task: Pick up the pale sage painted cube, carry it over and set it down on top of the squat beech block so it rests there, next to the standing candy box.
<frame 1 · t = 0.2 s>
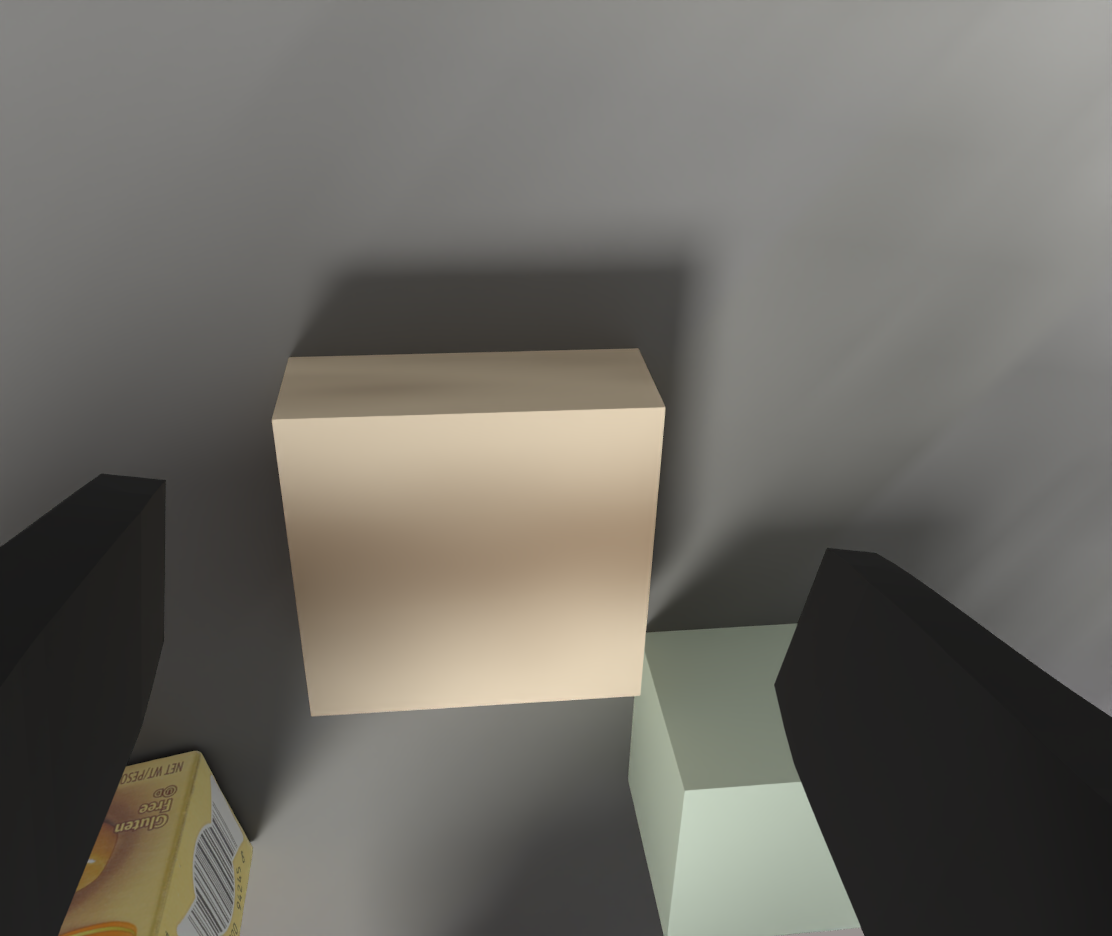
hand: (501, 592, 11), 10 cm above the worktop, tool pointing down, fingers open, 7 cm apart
sage cube: (728, 700, 26), on the worktop
beech block: (469, 492, 22), on the worktop
candy box: (67, 829, 26), on the worktop
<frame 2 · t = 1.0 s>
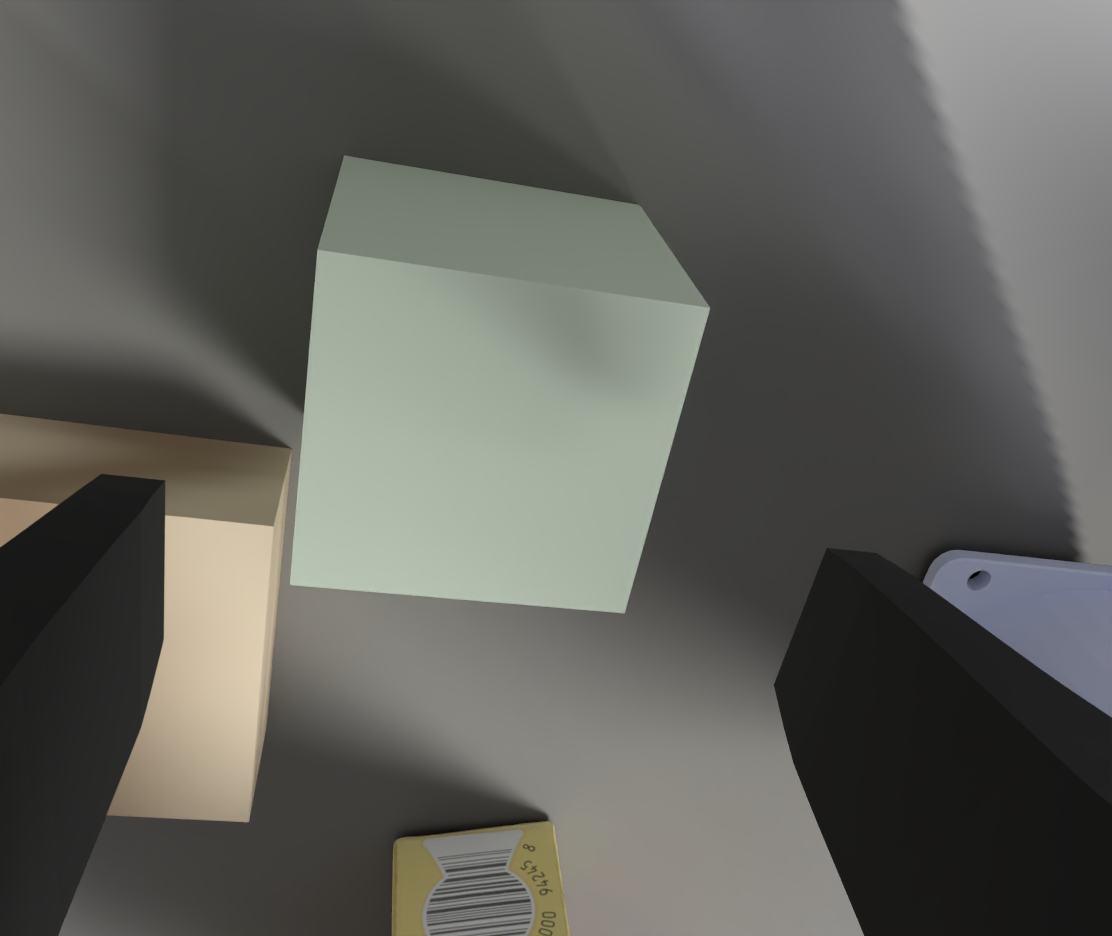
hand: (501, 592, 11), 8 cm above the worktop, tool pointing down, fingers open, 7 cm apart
sage cube: (473, 318, 18), on the worktop
beech block: (100, 571, 20), on the worktop
candy box: (487, 929, 27), on the worktop
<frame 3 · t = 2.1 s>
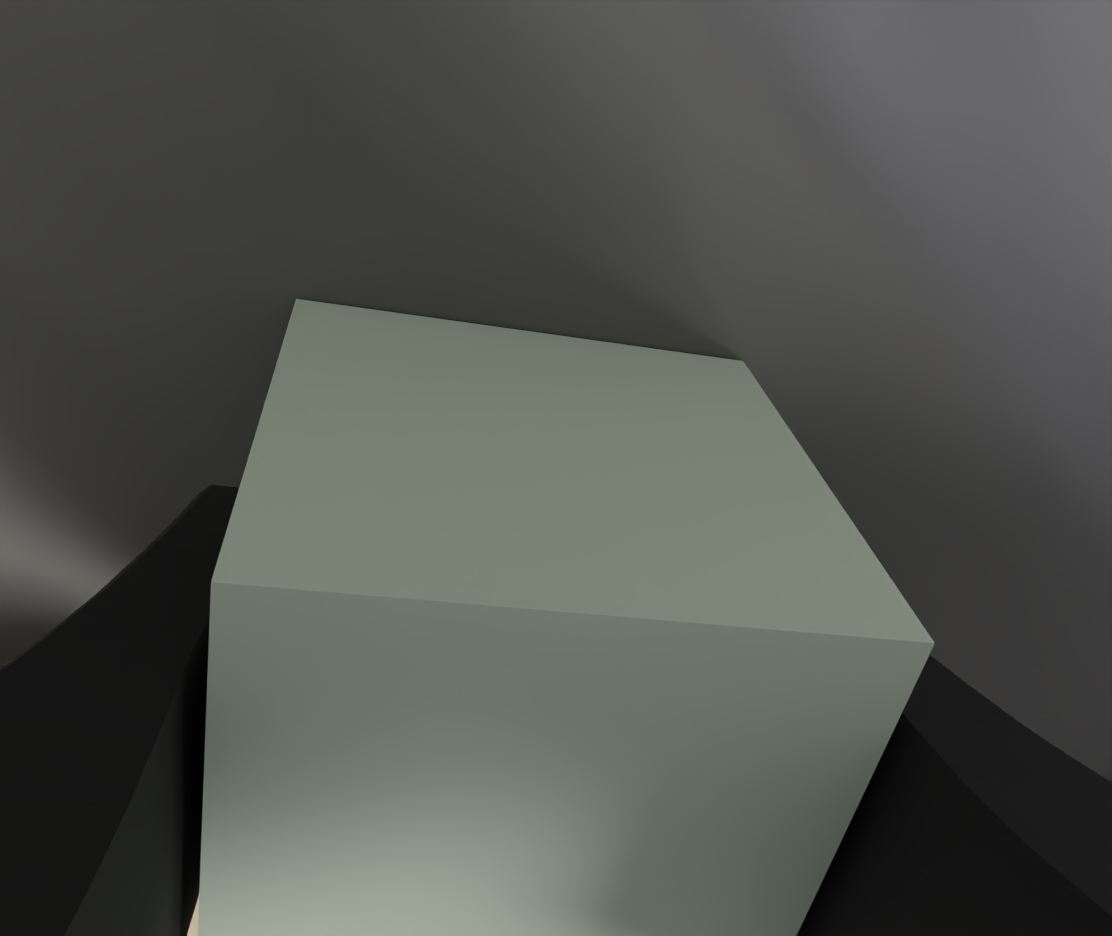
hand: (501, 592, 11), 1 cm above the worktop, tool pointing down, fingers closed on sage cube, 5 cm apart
sage cube: (492, 521, 12), on the worktop, touching gripper
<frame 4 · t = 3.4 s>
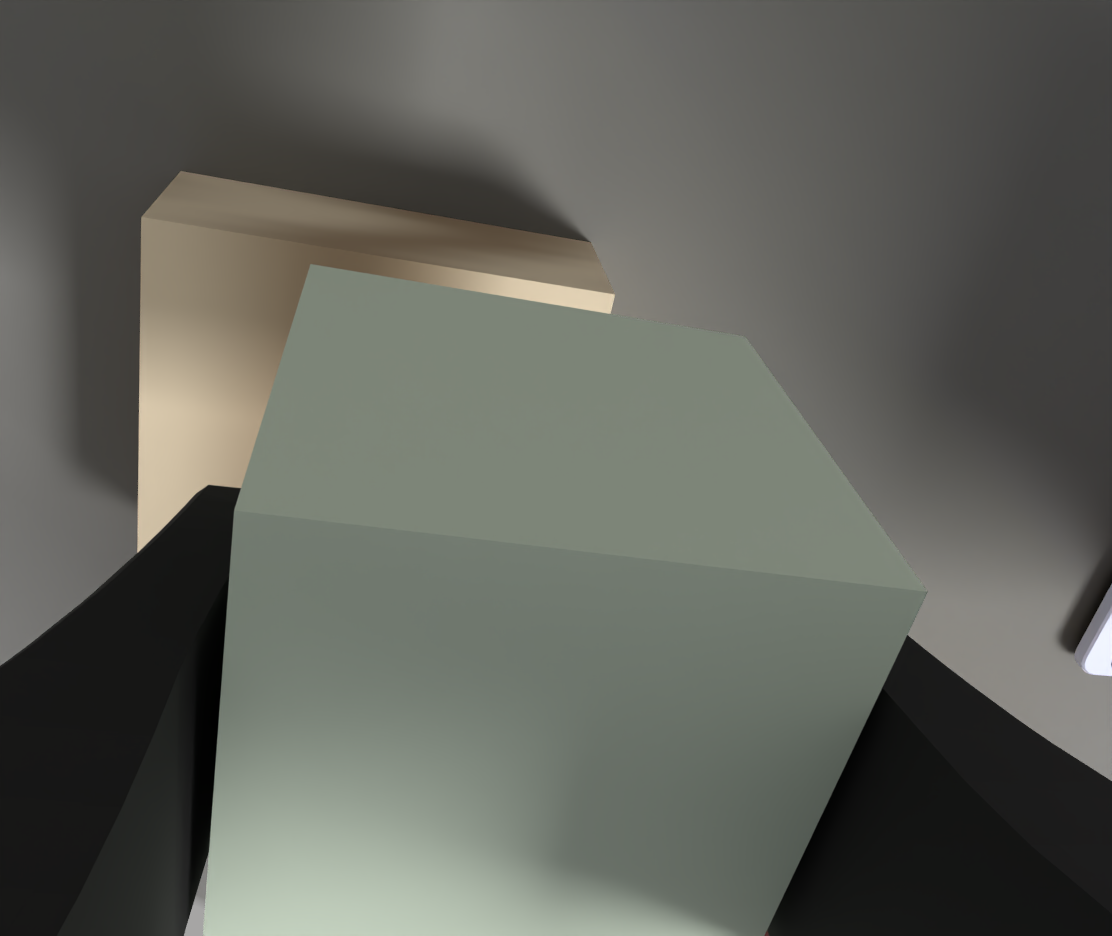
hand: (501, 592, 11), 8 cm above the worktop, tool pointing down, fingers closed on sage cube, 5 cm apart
sage cube: (496, 490, 13), point 7 cm above the worktop, touching gripper
beech block: (370, 383, 19), on the worktop
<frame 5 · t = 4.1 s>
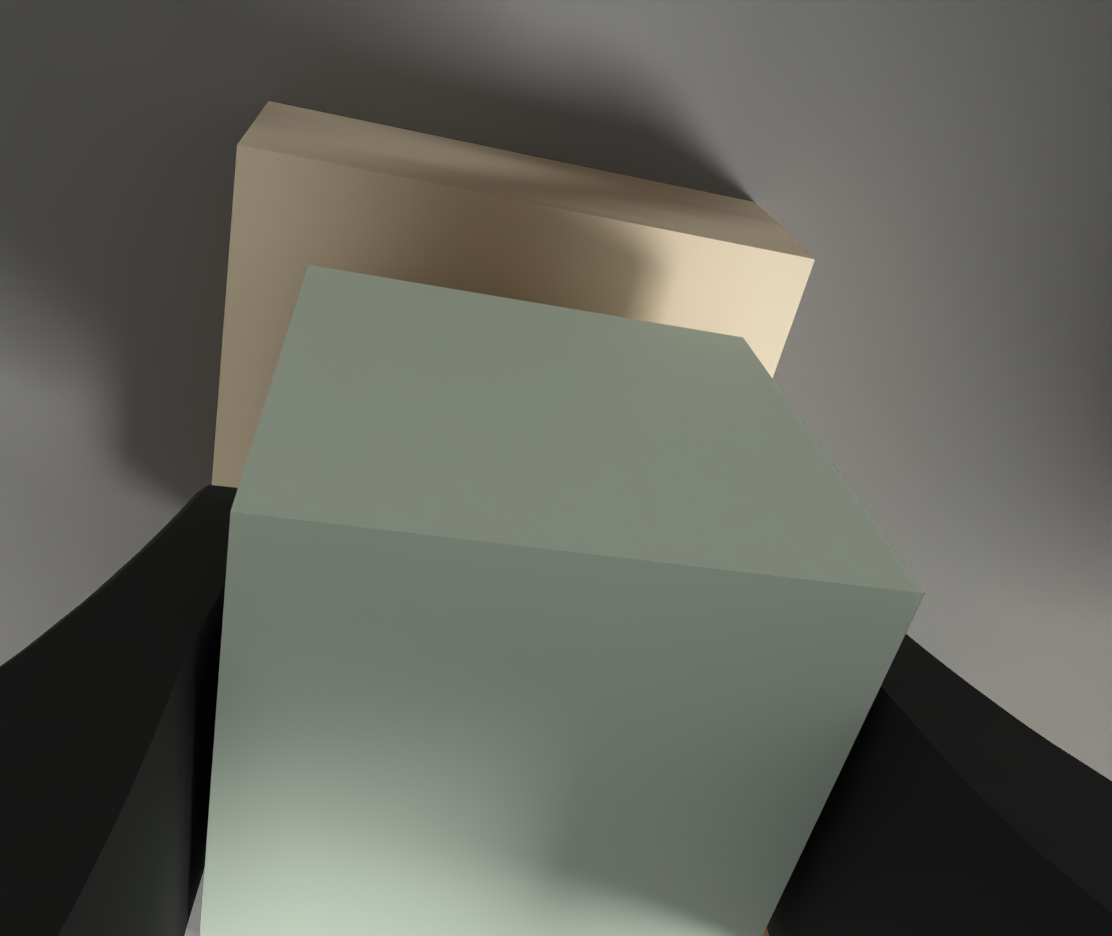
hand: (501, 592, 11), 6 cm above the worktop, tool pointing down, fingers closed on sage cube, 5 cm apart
sage cube: (494, 491, 13), point 4 cm above the worktop, touching gripper
beech block: (476, 368, 16), on the worktop
when the fingers open (5 cm above the worktop, at t = 4.6 s): sage cube stays where it is, point 3 cm above the worktop.
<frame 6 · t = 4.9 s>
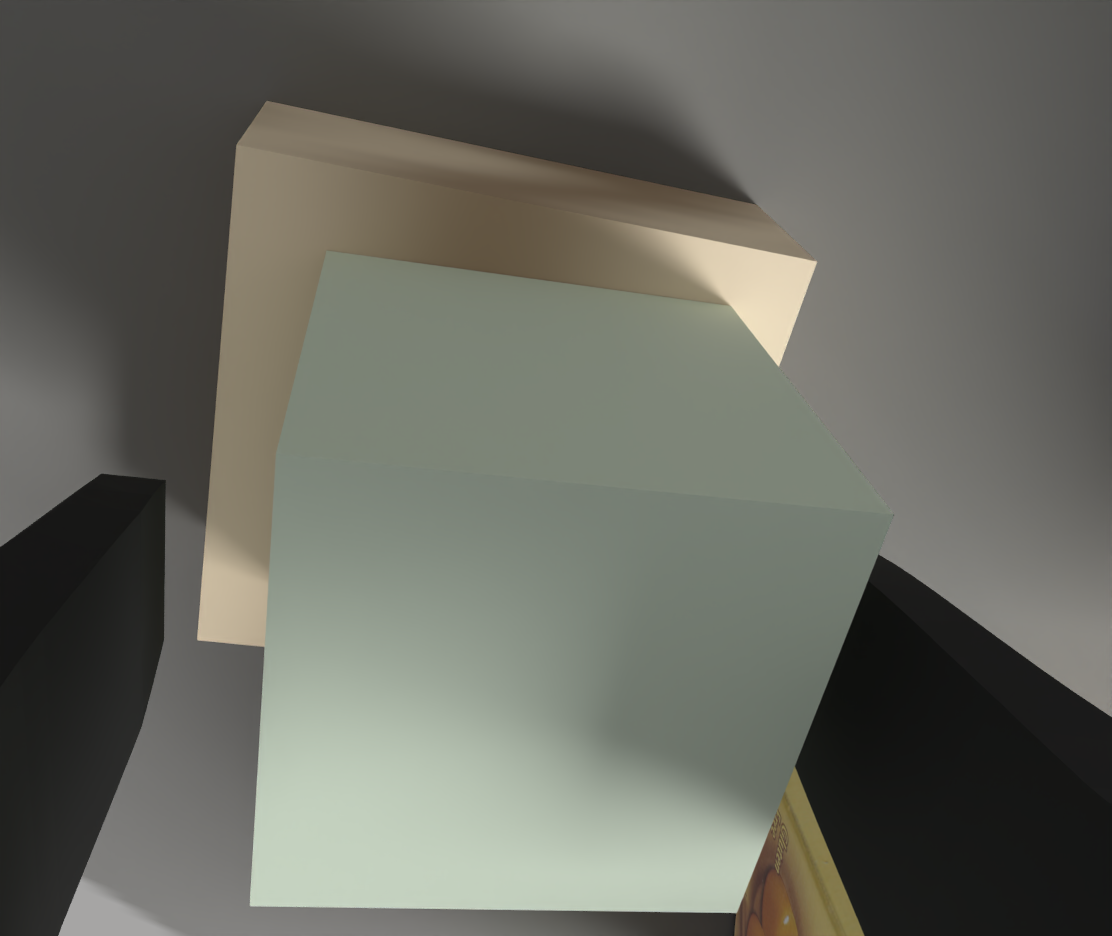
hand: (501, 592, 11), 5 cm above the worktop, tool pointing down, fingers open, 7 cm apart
sage cube: (504, 458, 13), point 3 cm above the worktop
beech block: (475, 370, 16), on the worktop
candy box: (822, 852, 23), on the worktop
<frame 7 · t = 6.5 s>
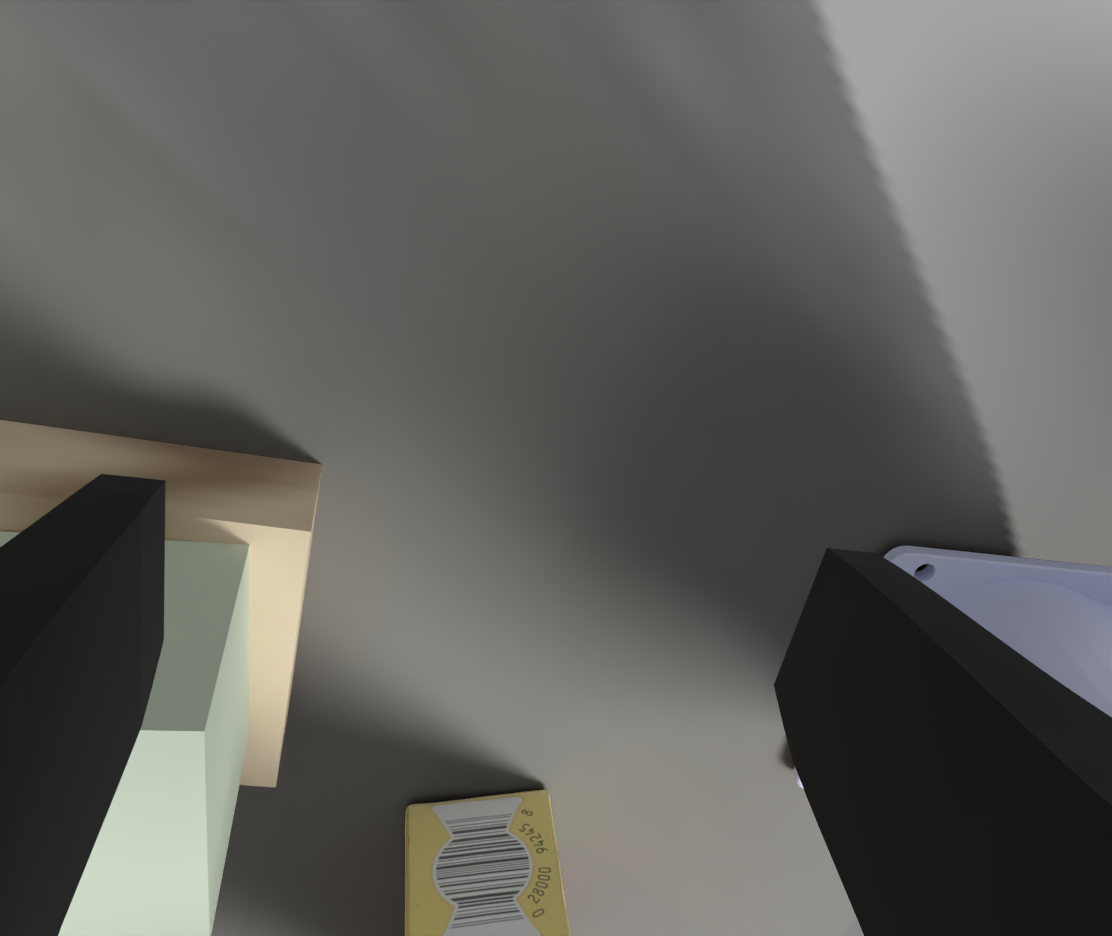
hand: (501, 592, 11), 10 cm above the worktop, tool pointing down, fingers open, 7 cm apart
sage cube: (120, 640, 20), point 3 cm above the worktop, touching beech block
beech block: (149, 565, 23), on the worktop, touching sage cube
candy box: (489, 890, 30), on the worktop
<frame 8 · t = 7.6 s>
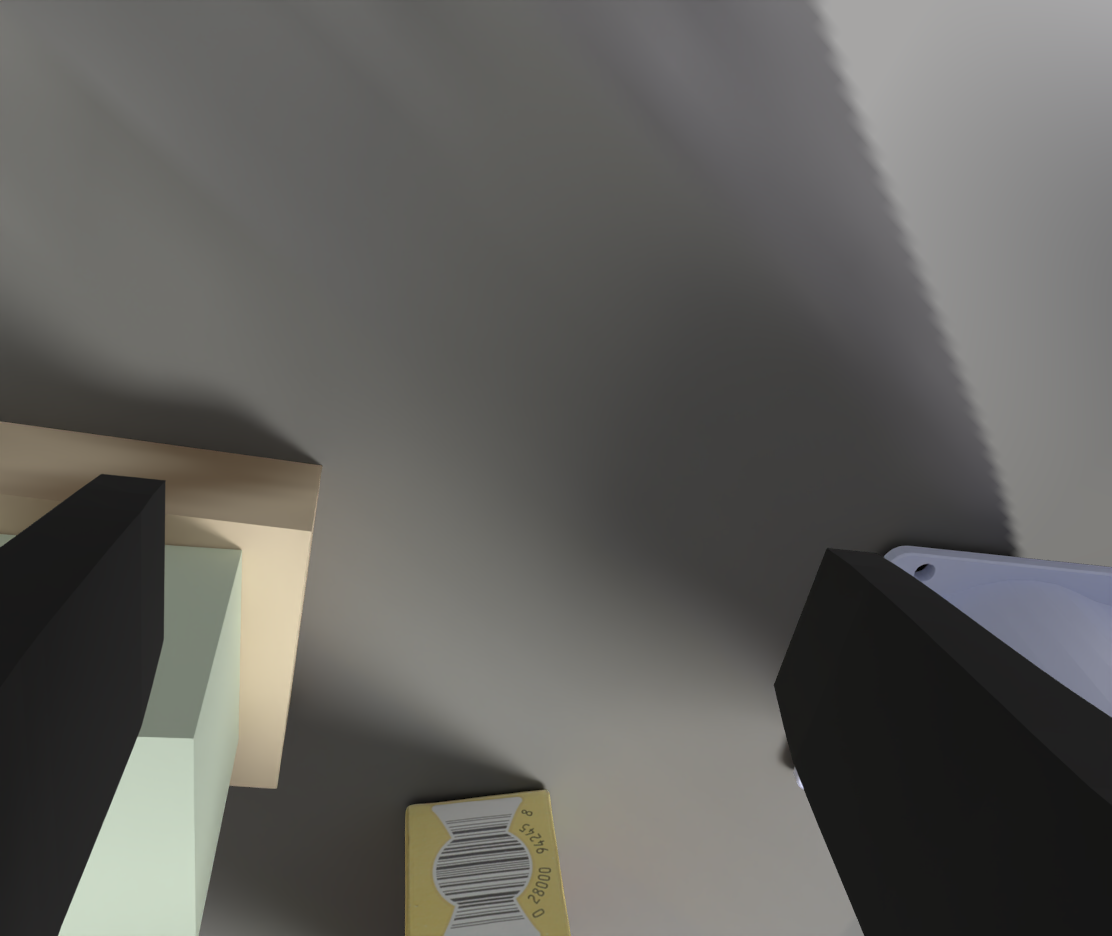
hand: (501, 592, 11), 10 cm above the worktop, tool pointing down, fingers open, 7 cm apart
sage cube: (110, 644, 20), point 3 cm above the worktop
beech block: (149, 567, 23), on the worktop
candy box: (489, 890, 30), on the worktop
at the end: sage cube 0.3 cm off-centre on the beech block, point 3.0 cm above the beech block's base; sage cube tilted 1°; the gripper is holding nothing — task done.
